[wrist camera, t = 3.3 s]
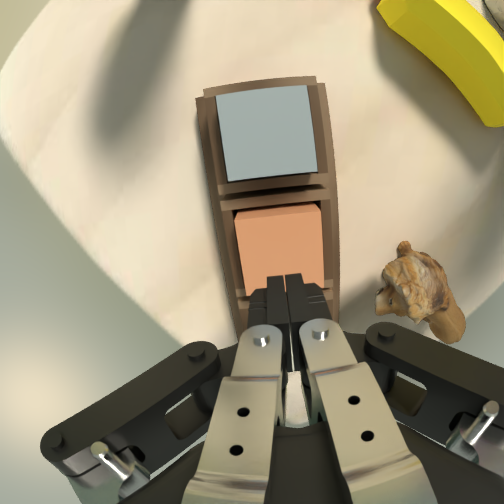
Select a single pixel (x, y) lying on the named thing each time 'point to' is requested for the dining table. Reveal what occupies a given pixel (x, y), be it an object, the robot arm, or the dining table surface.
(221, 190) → the button board
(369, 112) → the dining table surface
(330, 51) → the dining table surface
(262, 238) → the terracotta button
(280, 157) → the slate button
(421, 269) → the lion figurine
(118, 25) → the dining table surface
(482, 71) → the ripe banana
